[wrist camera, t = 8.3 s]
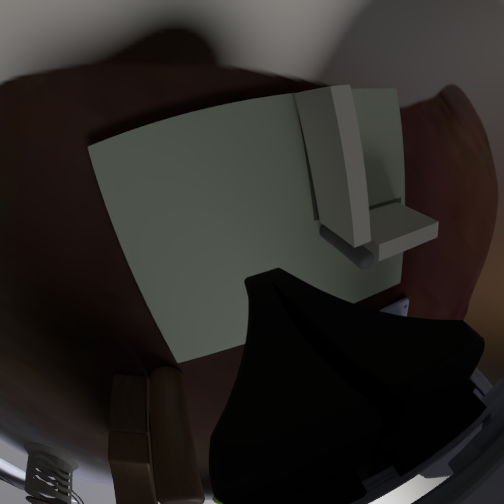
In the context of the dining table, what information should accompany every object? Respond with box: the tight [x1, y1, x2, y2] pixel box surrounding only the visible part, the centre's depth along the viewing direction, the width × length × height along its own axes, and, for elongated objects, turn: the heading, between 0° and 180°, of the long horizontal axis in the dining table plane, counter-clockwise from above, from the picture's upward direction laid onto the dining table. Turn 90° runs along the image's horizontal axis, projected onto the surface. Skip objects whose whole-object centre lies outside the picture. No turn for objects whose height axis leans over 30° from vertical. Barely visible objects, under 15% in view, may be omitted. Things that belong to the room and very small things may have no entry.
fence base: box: [319, 202, 439, 270], centre depth 19 cm, size 1×8×5 cm, turn 102°
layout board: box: [88, 88, 405, 363], centre depth 20 cm, size 18×22×1 cm
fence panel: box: [294, 84, 371, 248], centre depth 16 cm, size 9×1×4 cm, turn 15°
